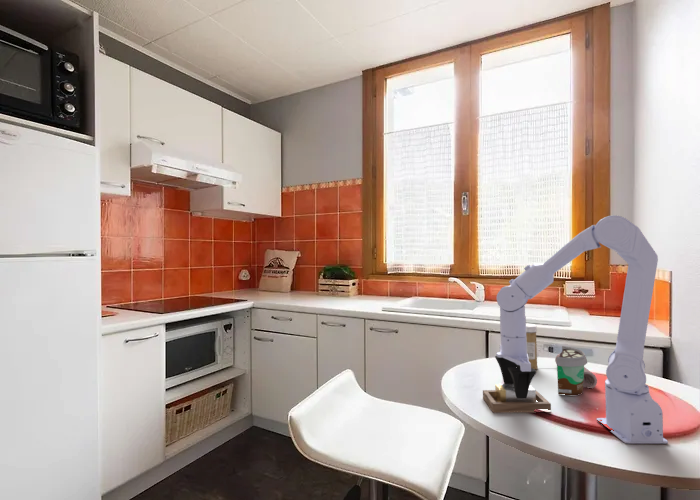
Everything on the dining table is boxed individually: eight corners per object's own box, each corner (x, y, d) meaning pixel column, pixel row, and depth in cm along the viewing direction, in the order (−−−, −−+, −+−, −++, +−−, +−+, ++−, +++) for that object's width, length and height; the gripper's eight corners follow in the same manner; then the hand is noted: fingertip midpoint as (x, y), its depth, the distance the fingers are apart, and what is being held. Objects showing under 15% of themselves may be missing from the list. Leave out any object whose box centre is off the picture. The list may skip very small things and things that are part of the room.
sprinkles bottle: (539, 367, 113) (538, 324, 113) (534, 371, 110) (533, 327, 110) (524, 364, 117) (523, 322, 117) (518, 368, 114) (517, 325, 113)
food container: (586, 402, 88) (585, 361, 88) (557, 397, 92) (556, 357, 92) (589, 385, 98) (588, 348, 98) (563, 381, 102) (562, 345, 102)
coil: (598, 373, 96) (571, 353, 113) (579, 371, 97) (555, 351, 114) (597, 391, 96) (570, 368, 114) (577, 388, 97) (553, 365, 114)
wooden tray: (551, 412, 84) (550, 403, 84) (493, 412, 85) (492, 404, 85) (535, 397, 92) (535, 389, 92) (482, 398, 93) (482, 390, 93)
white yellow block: (535, 406, 86) (535, 390, 86) (501, 407, 87) (500, 390, 87) (528, 399, 90) (528, 383, 90) (495, 399, 91) (495, 383, 91)
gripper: (487, 328, 96) (488, 380, 96) (507, 343, 81) (509, 404, 81) (514, 328, 95) (516, 379, 95) (539, 342, 81) (541, 404, 81)
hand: (515, 391), depth 88 cm, fingers open, 7 cm apart
